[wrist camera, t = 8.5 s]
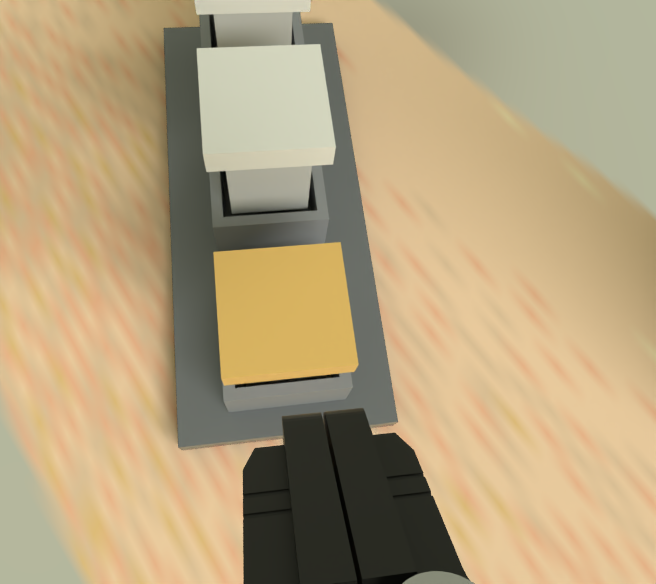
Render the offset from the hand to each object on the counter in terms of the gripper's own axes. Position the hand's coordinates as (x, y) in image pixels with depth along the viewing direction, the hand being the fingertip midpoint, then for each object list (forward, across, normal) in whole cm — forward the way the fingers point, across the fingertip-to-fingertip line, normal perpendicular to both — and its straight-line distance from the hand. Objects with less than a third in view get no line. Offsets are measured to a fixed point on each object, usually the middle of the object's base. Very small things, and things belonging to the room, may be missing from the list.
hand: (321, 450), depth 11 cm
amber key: (+15, 0, +7) cm, 17 cm away
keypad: (+22, 0, +2) cm, 22 cm away
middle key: (+20, 0, 0) cm, 20 cm away
